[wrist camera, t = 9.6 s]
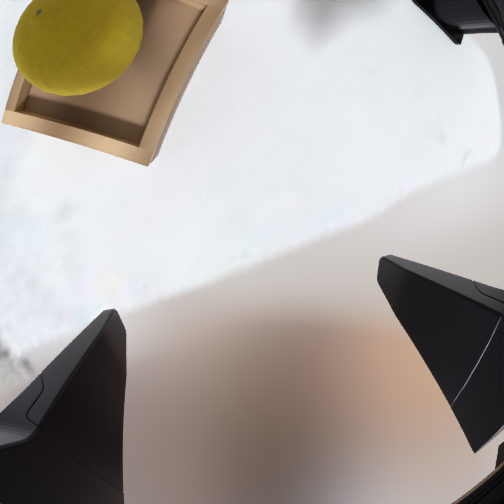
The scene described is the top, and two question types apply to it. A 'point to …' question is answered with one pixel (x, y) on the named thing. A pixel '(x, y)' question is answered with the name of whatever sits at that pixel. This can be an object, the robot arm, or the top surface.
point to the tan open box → (127, 86)
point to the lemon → (76, 43)
